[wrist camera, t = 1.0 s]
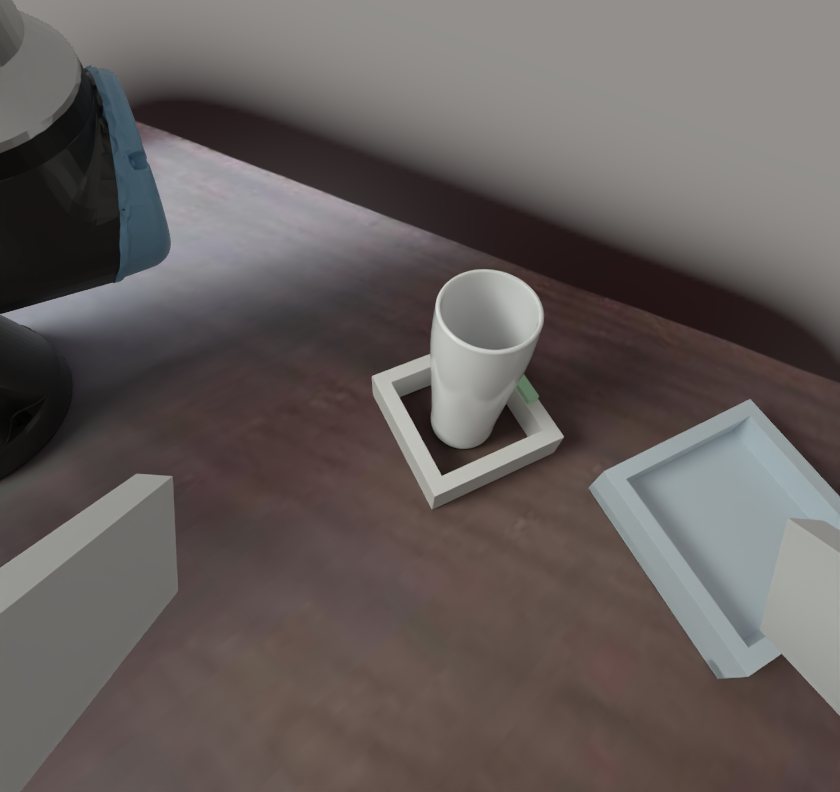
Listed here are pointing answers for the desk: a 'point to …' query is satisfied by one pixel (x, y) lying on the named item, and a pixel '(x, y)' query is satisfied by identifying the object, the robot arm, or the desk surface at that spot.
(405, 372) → the frame
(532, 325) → the drinking glass
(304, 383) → the desk surface
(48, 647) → the robot arm
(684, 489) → the tray
